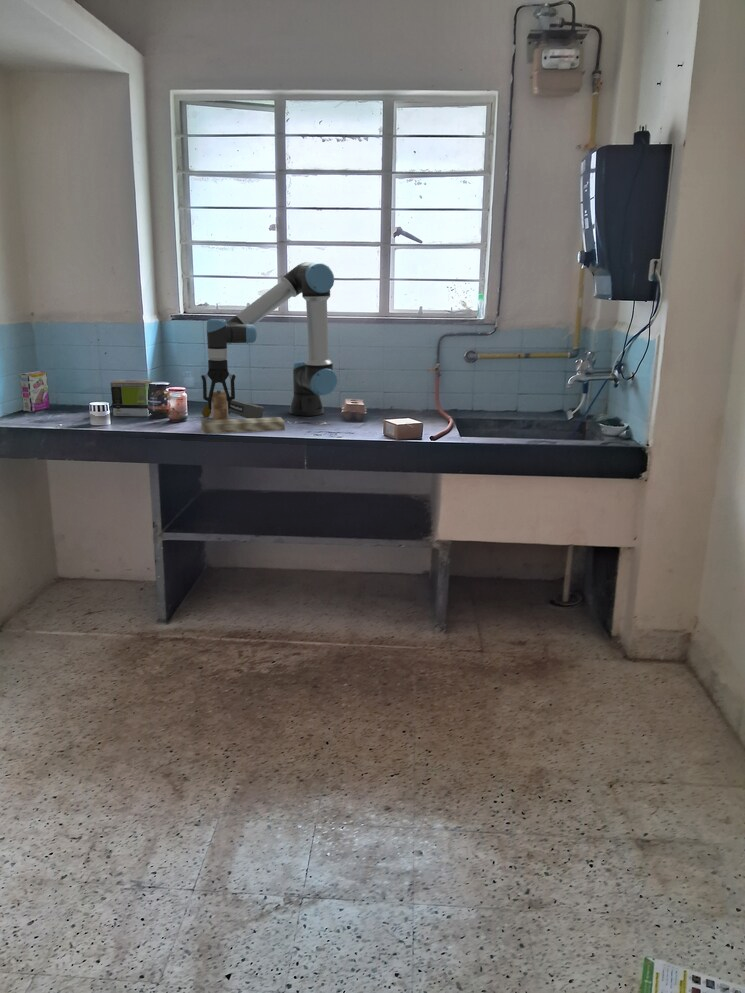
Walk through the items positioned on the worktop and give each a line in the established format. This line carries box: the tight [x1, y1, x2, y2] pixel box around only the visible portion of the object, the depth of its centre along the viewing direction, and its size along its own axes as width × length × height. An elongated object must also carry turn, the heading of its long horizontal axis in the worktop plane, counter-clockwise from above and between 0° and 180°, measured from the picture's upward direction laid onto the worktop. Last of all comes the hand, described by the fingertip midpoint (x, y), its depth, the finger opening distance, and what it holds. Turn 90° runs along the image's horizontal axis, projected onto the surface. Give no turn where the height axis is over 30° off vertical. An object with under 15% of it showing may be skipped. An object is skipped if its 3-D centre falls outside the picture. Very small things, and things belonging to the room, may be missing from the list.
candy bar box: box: [19, 370, 50, 413], centre depth 318 cm, size 11×5×16 cm, turn 162°
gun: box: [201, 398, 265, 418], centre depth 312 cm, size 3×25×15 cm, turn 81°
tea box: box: [110, 379, 153, 418], centre depth 314 cm, size 15×10×15 cm, turn 89°
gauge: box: [212, 389, 228, 420], centre depth 291 cm, size 5×12×12 cm, turn 19°
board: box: [200, 416, 286, 435], centre depth 292 cm, size 32×9×4 cm, turn 108°
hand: (219, 416), depth 296 cm, fingers closed on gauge, 5 cm apart
